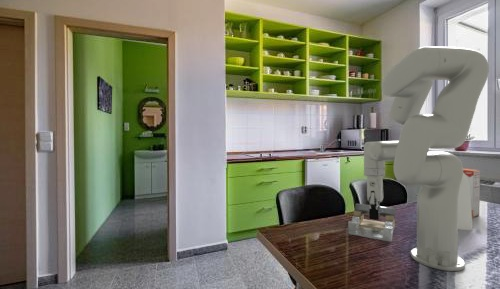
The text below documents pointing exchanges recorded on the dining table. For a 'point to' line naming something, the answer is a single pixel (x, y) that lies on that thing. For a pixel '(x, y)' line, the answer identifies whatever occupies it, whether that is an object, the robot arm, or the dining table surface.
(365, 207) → the steel axle
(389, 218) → the bearing cradle
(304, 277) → the dining table surface
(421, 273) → the dining table surface
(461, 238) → the dining table surface
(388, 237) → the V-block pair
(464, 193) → the milk
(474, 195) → the cracker box
